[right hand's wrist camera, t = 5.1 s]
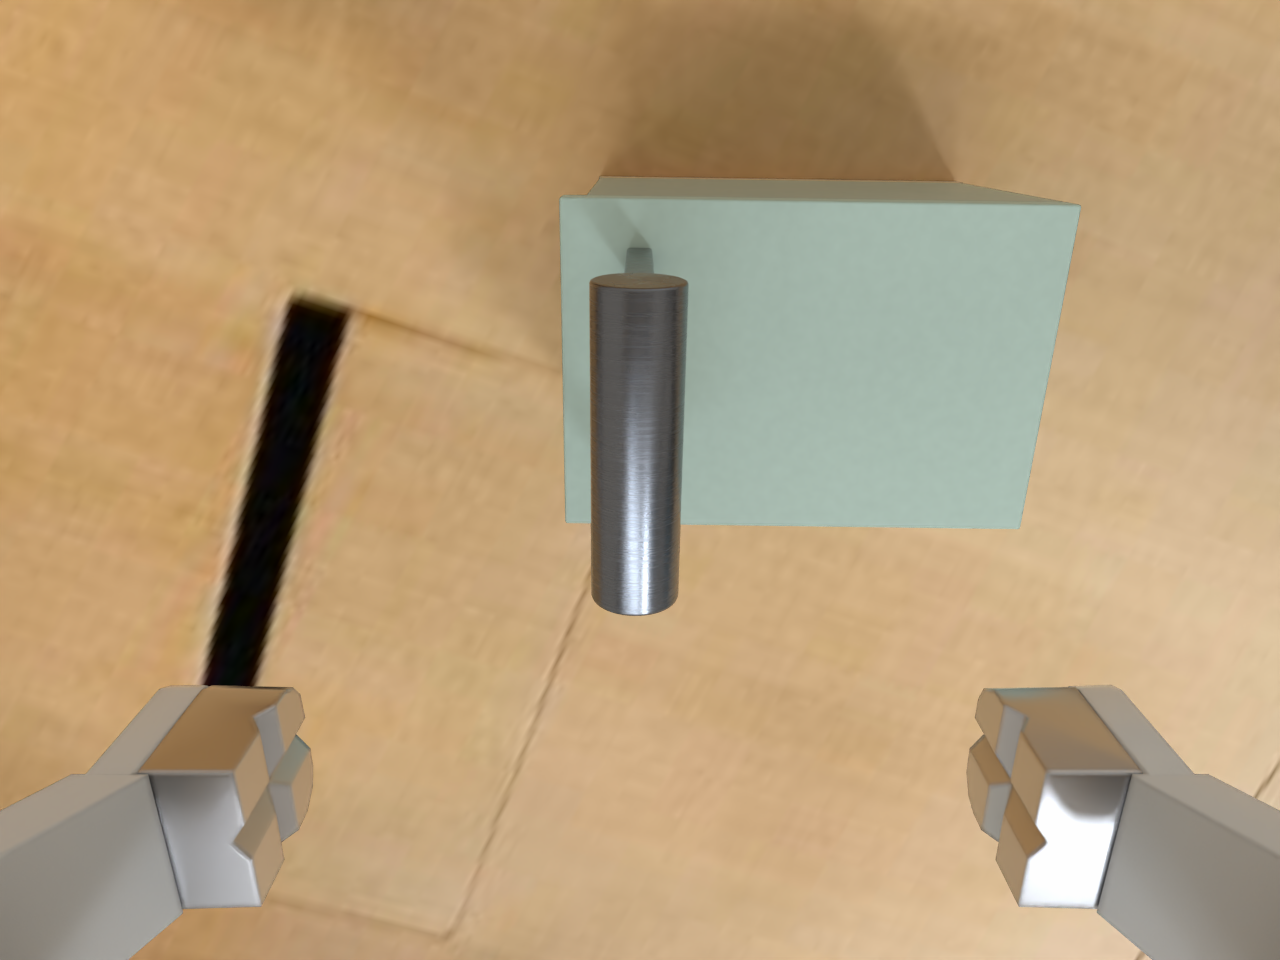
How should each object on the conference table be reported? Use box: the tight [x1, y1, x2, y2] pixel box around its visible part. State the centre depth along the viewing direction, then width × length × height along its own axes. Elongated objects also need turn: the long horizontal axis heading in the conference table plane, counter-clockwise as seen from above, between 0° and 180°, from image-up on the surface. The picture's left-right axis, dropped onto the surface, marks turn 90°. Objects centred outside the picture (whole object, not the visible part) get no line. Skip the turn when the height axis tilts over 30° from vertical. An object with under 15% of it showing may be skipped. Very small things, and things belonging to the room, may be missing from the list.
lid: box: [559, 195, 1081, 616], centre depth 23 cm, size 14×10×8 cm
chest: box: [587, 176, 1062, 202], centre depth 31 cm, size 14×10×10 cm
